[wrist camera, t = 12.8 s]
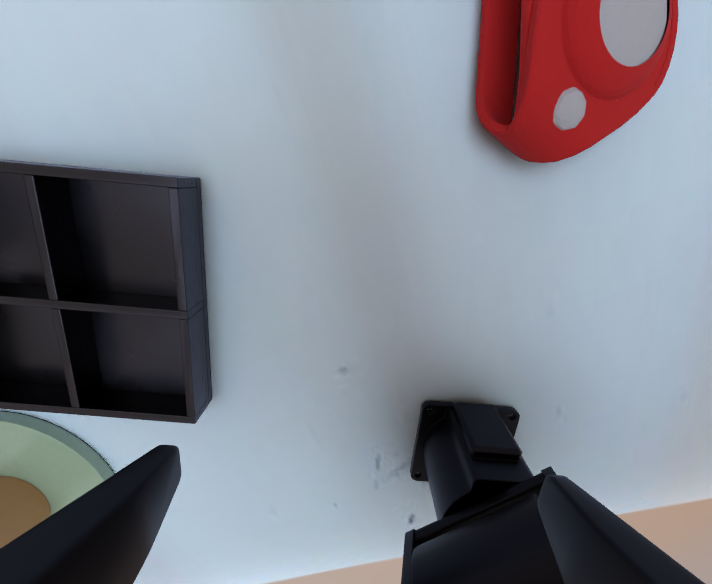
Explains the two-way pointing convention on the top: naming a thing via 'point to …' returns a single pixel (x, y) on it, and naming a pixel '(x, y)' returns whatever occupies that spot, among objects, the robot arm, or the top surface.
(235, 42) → the top surface
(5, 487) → the vanilla cupcake
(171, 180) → the dark grey compartment tray
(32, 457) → the plate
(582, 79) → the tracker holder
